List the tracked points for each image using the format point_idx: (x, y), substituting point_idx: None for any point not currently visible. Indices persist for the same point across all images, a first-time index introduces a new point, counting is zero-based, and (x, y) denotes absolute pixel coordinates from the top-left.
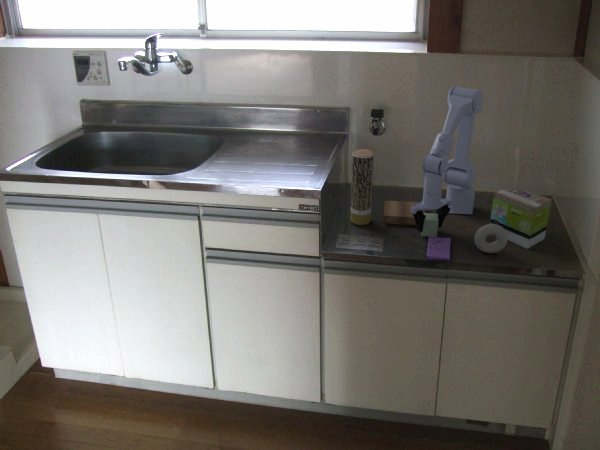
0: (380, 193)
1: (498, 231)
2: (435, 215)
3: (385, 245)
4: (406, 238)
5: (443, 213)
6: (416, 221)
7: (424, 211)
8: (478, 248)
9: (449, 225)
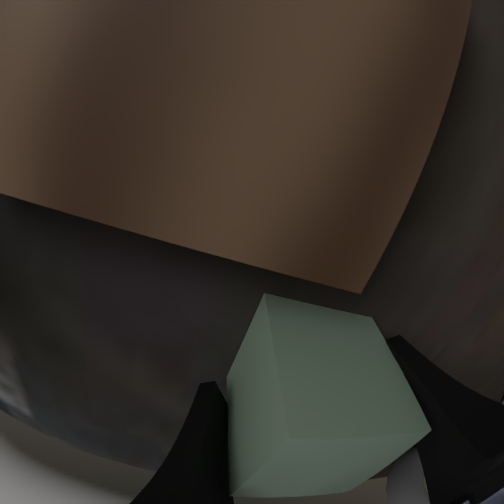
0: None
1: None
2: (388, 455)
3: (30, 392)
4: (123, 379)
5: (429, 482)
6: (183, 448)
7: (428, 124)
8: (391, 468)
9: (474, 269)
